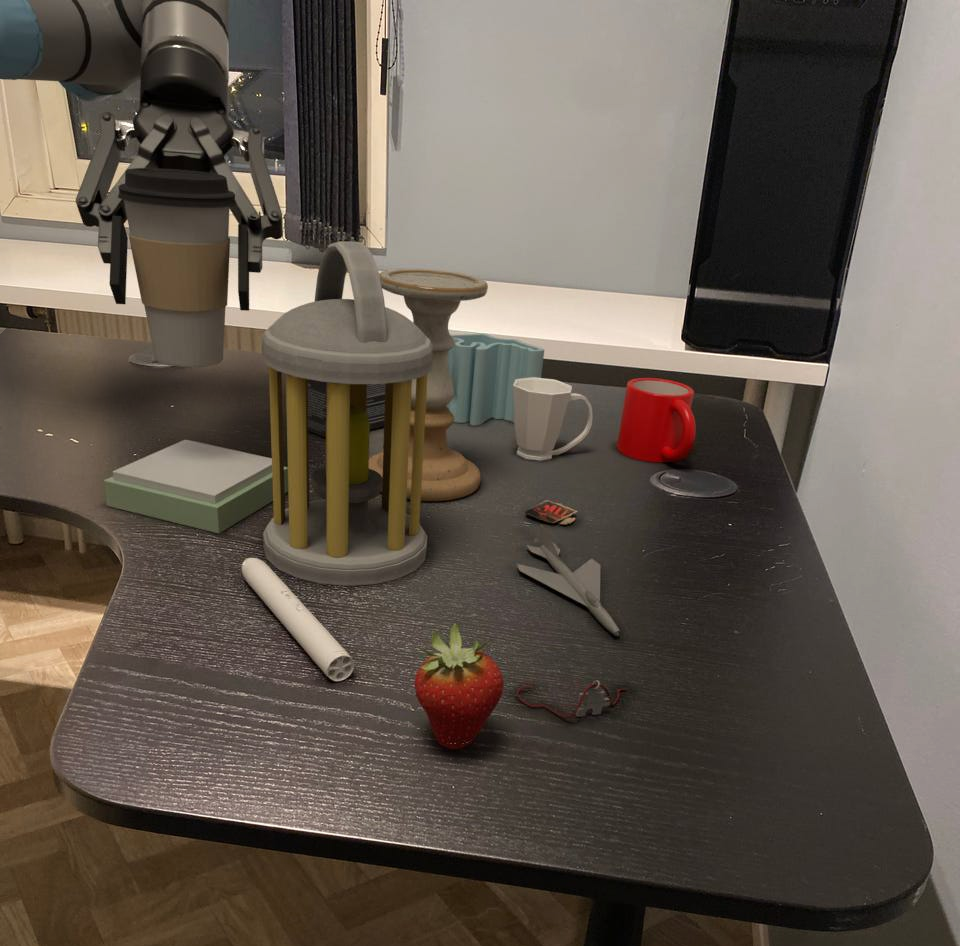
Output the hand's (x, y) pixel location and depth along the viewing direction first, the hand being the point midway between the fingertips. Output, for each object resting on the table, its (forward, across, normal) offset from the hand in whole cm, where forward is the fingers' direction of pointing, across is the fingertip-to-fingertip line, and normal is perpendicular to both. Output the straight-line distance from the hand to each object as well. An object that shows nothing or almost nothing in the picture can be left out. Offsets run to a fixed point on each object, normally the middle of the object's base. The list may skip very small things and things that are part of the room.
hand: (181, 297), depth 76 cm
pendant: (+38, -28, +11) cm, 48 cm away
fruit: (+40, -19, +14) cm, 47 cm away
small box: (-4, -15, -31) cm, 35 cm away
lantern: (+20, -13, -6) cm, 25 cm away
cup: (+2, -38, -25) cm, 45 cm away
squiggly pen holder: (-8, -30, -34) cm, 46 cm away
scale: (+12, 0, -14) cm, 19 cm away
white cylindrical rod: (+29, -8, +3) cm, 31 cm away
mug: (+2, -52, -25) cm, 58 cm away
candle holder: (+8, -22, -18) cm, 30 cm away
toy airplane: (+24, -32, -2) cm, 40 cm away
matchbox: (+15, -34, -12) cm, 39 cm away
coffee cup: (+2, 0, -6) cm, 7 cm away
